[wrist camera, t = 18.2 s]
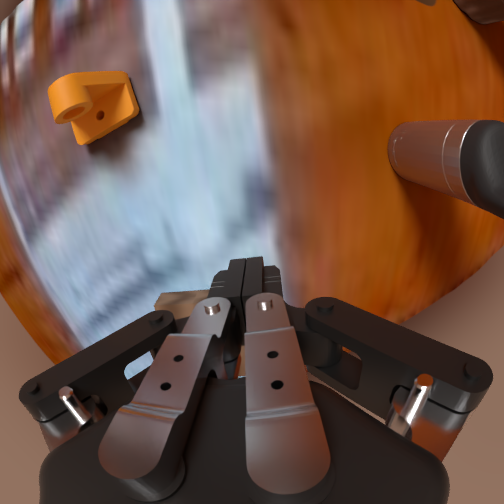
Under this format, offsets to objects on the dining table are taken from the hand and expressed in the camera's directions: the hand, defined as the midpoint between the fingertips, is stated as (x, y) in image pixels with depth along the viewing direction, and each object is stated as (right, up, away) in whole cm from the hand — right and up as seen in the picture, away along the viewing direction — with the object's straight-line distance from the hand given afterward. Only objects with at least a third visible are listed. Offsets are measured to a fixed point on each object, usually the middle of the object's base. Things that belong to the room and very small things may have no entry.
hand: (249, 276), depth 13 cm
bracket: (-22, +23, +21) cm, 38 cm away
